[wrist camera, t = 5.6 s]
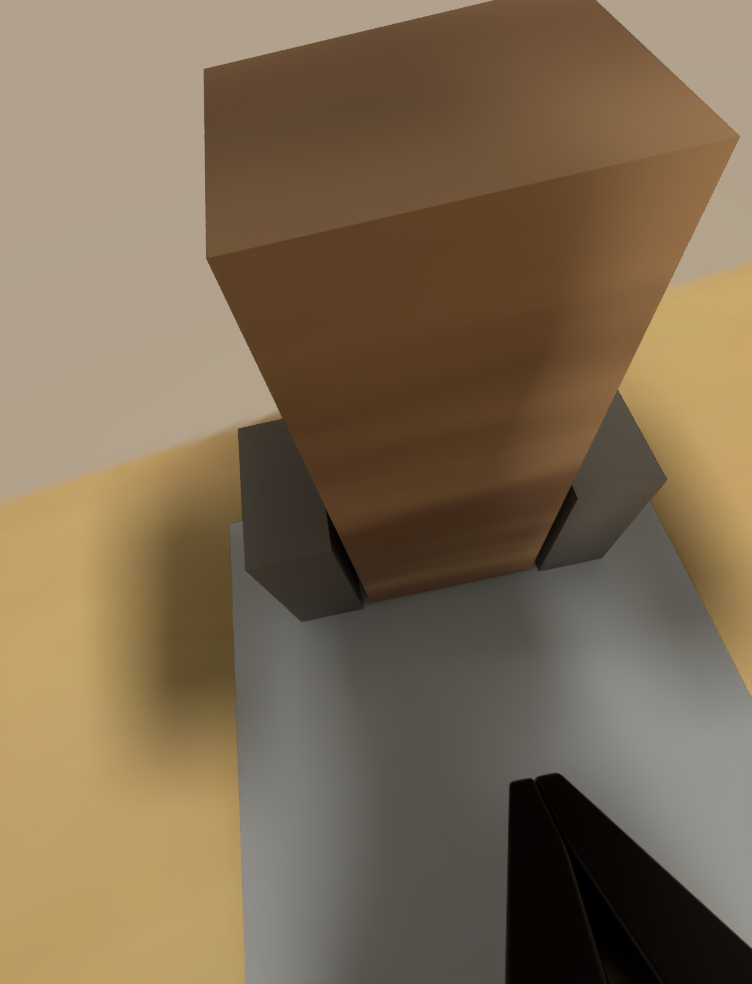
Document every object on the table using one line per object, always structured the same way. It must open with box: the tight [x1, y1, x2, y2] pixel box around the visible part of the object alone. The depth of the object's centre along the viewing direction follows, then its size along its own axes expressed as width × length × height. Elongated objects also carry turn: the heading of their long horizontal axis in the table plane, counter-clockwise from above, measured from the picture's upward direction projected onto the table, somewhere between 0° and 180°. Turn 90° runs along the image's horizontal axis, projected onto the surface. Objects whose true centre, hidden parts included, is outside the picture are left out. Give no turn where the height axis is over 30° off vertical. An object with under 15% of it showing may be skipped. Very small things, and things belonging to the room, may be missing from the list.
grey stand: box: [230, 390, 752, 984], centre depth 12 cm, size 14×14×6 cm
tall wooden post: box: [204, 0, 740, 603], centre depth 11 cm, size 4×5×12 cm
